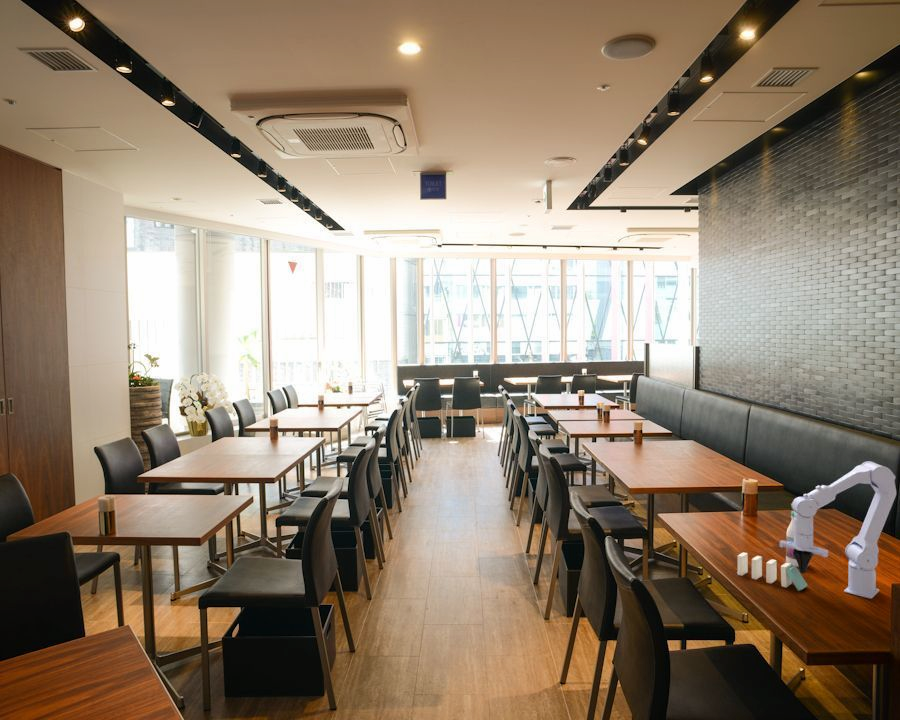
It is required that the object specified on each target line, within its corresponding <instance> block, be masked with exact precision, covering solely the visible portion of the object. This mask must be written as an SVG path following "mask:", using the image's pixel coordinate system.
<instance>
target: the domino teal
mask: <svg viewBox="0 0 900 720" xmlns="http://www.w3.org/2000/svg"><path fill="white" fill-rule="evenodd" d="M786 572H787V574H788V575H789V577H790V578H791V580H792V583H793V585H794V586H795V588H796V590H797V591H798V592H799V591H802V590H803V589H805V588H807V586H808V583H807V582H806V580H805V579H804V577H803V575H802V573H800V570H799V568H798V567H796V566H791V568H789V569H788V570H787V571H786Z"/></svg>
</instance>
